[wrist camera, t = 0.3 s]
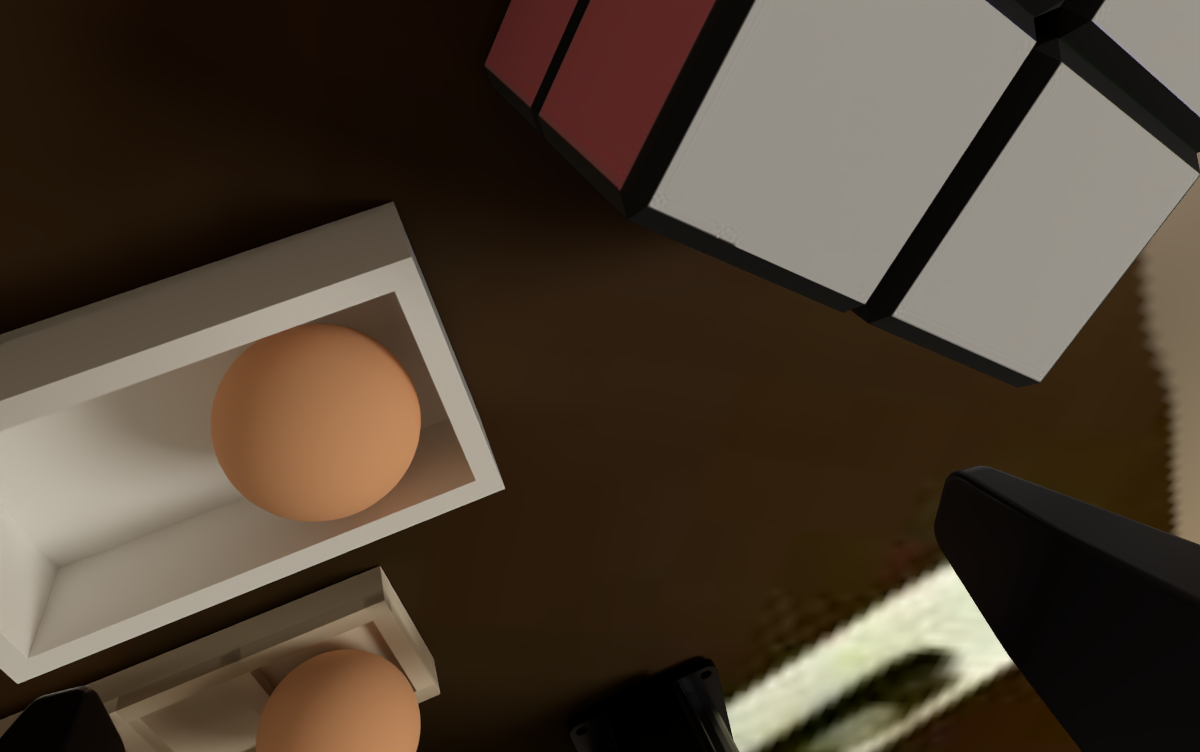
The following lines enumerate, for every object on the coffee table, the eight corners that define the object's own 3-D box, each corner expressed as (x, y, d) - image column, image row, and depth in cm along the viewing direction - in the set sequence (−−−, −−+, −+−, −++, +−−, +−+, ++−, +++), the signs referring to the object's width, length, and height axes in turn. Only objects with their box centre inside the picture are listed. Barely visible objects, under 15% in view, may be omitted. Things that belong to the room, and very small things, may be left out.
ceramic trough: (478, 413, 23) (505, 488, 20) (54, 576, 22) (17, 684, 19) (393, 201, 19) (411, 256, 16) (-133, 379, 18) (-215, 476, 15)
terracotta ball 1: (432, 409, 22) (461, 515, 18) (270, 470, 21) (265, 593, 18) (369, 265, 19) (388, 354, 16) (181, 330, 19) (155, 439, 15)
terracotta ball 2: (430, 680, 27) (452, 807, 23) (297, 738, 26) (299, 878, 23) (379, 595, 24) (395, 723, 21) (230, 656, 24) (219, 799, 20)
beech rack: (433, 658, 28) (440, 693, 27) (56, 819, 26) (44, 865, 25) (380, 565, 25) (384, 600, 24) (-49, 739, 23) (-68, 786, 22)
